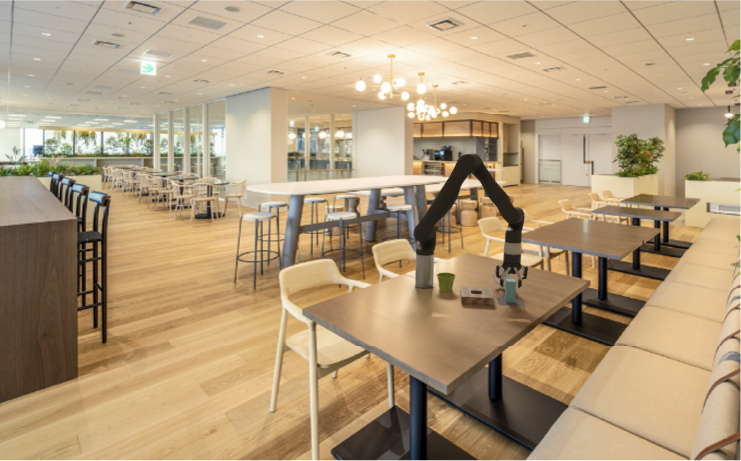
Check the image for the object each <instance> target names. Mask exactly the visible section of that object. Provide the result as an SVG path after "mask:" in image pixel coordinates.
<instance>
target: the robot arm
mask: <svg viewBox="0 0 741 461" xmlns="http://www.w3.org/2000/svg"><path fill="white" fill-rule="evenodd" d="M470 175H473V177H475V178H476V179H477V180H478V182H479V183H480V184H481V187H482V188H483V190H484V192H485V194H486V196H487V197H488V198H489V200H490V201H491V202H492V203H493V205H494V206H495V207H496V208H497V210H498V212H499V214H500V216H501V217H502V218H503V220H504V221H505V222H506V223H507V224H508V225H507V228H506V229H505V234H504V245H503V259H502V260H503V261H502V264H498V263H496V264H495V269H496V274H495V278H496V279H498V278H500V286H501V287H503V284H504V277H505V276H506V275H507V273H508V274H512V275H516V276H517V277H518V279H517V288H518V289H521V287H522V285H523V280H527V277H528V271H529V266H528V265H527V264H525V265H522V264H521V263H522V248H523V246H522V238H523V229H524V226H525V225H524V224H525V211H524V210H523V208H521V207H517V206H514V205H513V203H512V201H511V198H510V195H508V193H506V190H504V189H503V188H502V186H501V185H500V184H499V183H498V182H497V180H496V179H495V178H494V177H493V176H492V174H491V172H490V171H489V169H488V168H487V167H486V164H485V163H484V161H483V160H482V158H481V156H479V154H477V153H474V152H466V153H463V154H462V155H461V156H459V158H458V159H457V161H456V163H455V165H454V166H453V169H452V171H451V173H450V175H449V177H448V178H447V179H446V181H445V182H444V184H443V185H442V187H441V188H440V190H439V191H438V192H437V194H436V196H435V198H434V200H433V201H432V203H431V204H430V206H429V208H428V209H427V211H426V213H425V215H424V216H423V217H422V219H421V220H420V221H419V222H418V223H417V225H416V226H415V227H414V229H413V233H412V234H413V238H414V239H415V241H417V242H419V244H418V245H417V247H416V250H415V273H414V275H415V279H414V280H415V284H414V285H415V286H414V287H415V288H421V289H430V288H433V287H434V273H435V272H434V266H435V262H434V259H435V250H436V247H437V246H436V245H437V230H436V227H435V226H436V225H437V224H438V222H439V221H440V220H441V219H442V218H444V216H446V215H447V214H448V212H450V210H451V209H452V208H453V206H454V205H455V203H456V202H457V199H458V198H459V195H460V191H461V188H462V185H463V184H464V182H465V181H466V180H467V178H468V177H469V176H470ZM501 267H503V269H504V271H503V272H502V274H501V275H499V270H500V269H501ZM521 269H522V270H523V272H522V274H520V272H519V271H520V270H521ZM521 275H522V276H521Z"/></svg>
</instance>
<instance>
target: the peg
mask: <svg viewBox="0 0 741 461" xmlns="http://www.w3.org/2000/svg"><path fill="white" fill-rule="evenodd" d="M516 291H517V281H516V279H515V278H512V279H506V282H505V289H504V297H505V302H507V303H515V298H516V294H517V293H516Z"/></svg>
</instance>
